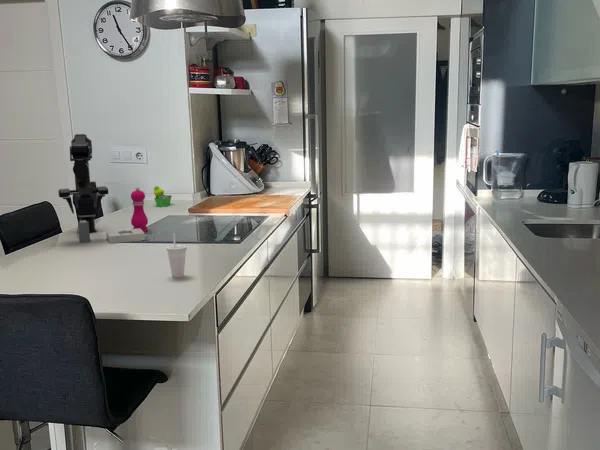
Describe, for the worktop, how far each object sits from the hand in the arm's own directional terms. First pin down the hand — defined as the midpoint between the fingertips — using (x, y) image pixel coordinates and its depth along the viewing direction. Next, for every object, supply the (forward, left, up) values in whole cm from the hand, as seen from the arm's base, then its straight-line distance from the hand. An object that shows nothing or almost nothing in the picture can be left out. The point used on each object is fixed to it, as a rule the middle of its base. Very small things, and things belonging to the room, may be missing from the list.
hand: (85, 212), depth 244 cm
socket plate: (+2, +15, -12) cm, 19 cm away
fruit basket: (-84, +46, -12) cm, 96 cm away
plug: (-1, -1, -12) cm, 12 cm away
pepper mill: (-12, +23, -12) cm, 29 cm away
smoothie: (+69, +23, -12) cm, 74 cm away
